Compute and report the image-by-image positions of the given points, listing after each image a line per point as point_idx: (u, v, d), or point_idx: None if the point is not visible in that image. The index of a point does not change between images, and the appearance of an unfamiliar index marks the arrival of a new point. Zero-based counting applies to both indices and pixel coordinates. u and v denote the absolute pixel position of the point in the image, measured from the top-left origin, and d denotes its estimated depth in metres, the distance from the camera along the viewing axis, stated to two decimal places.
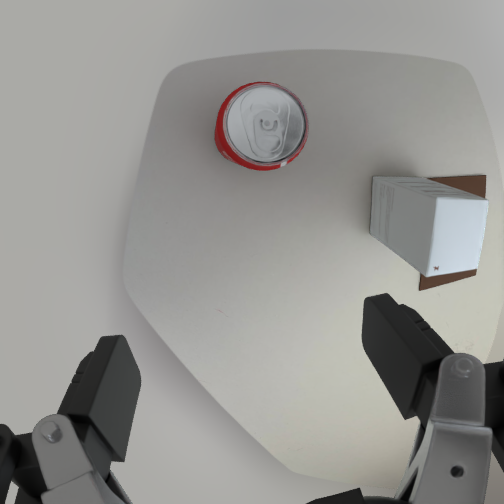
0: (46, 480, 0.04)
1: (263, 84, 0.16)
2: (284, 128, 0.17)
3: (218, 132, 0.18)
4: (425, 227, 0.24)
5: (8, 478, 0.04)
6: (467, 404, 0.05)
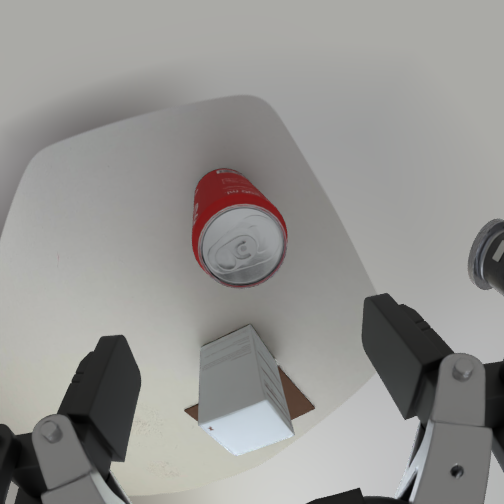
0: (46, 480, 0.04)
1: (280, 226, 0.18)
2: (247, 265, 0.18)
3: (212, 204, 0.18)
4: (236, 402, 0.27)
5: (8, 478, 0.04)
6: (467, 404, 0.05)
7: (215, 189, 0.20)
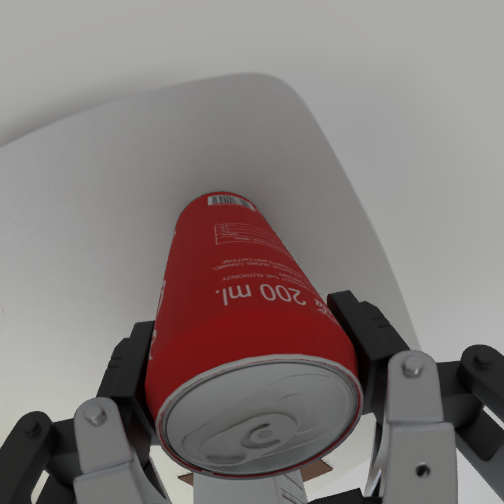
0: (81, 463, 0.04)
1: (356, 386, 0.06)
2: (271, 451, 0.07)
3: (184, 338, 0.06)
4: None
5: (40, 469, 0.04)
6: (422, 400, 0.05)
7: (197, 263, 0.09)
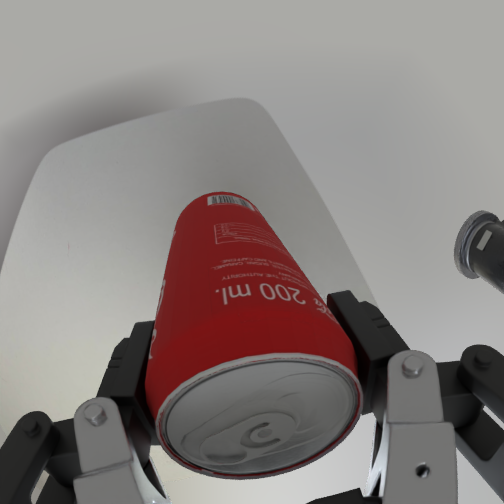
0: (81, 463, 0.04)
1: (356, 385, 0.06)
2: (271, 450, 0.07)
3: (184, 337, 0.06)
4: None
5: (40, 469, 0.04)
6: (422, 400, 0.05)
7: (197, 263, 0.09)
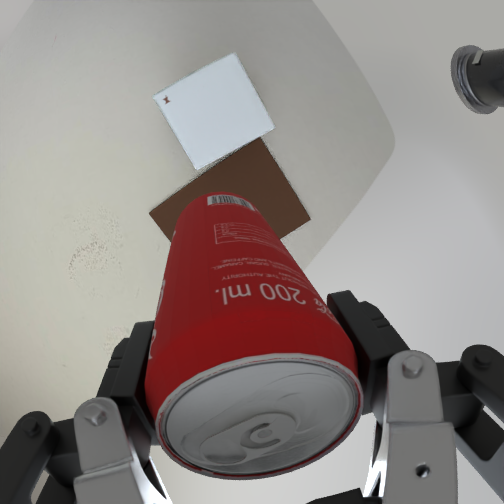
0: (81, 463, 0.04)
1: (356, 385, 0.06)
2: (271, 451, 0.07)
3: (184, 337, 0.06)
4: None
5: (40, 469, 0.04)
6: (421, 400, 0.05)
7: (197, 262, 0.09)
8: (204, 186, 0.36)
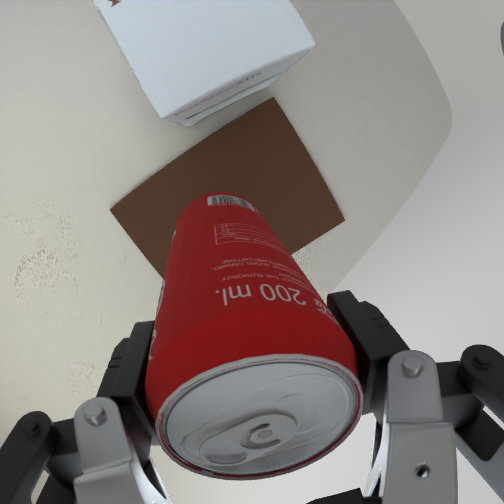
0: (82, 463, 0.04)
1: (356, 385, 0.06)
2: (271, 451, 0.07)
3: (184, 338, 0.06)
4: None
5: (40, 469, 0.04)
6: (421, 401, 0.05)
7: (197, 263, 0.09)
8: (189, 169, 0.24)
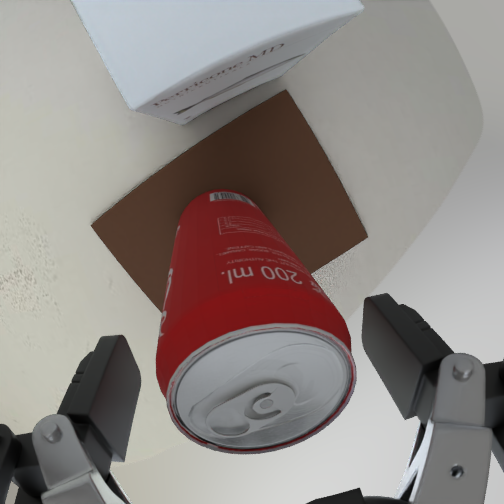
0: (46, 480, 0.04)
1: (349, 357, 0.07)
2: (272, 423, 0.08)
3: (194, 312, 0.07)
4: None
5: (8, 478, 0.04)
6: (467, 404, 0.05)
7: (203, 251, 0.10)
8: (184, 176, 0.19)
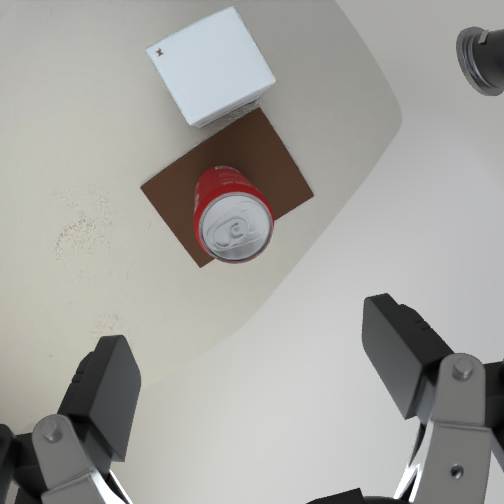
0: (46, 480, 0.04)
1: (267, 210, 0.21)
2: (240, 243, 0.22)
3: (211, 193, 0.21)
4: None
5: (8, 478, 0.04)
6: (467, 403, 0.05)
7: (213, 181, 0.24)
8: (200, 158, 0.33)
